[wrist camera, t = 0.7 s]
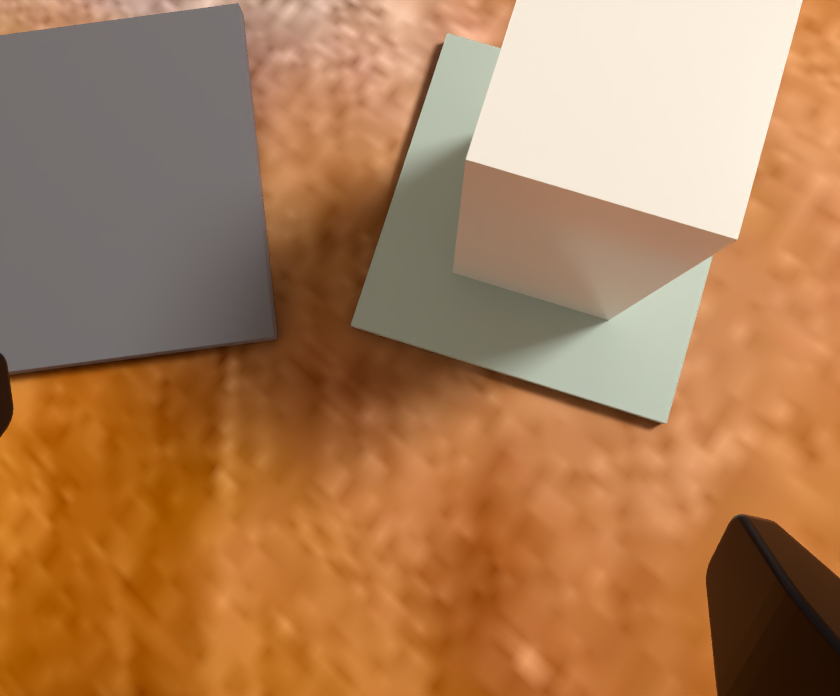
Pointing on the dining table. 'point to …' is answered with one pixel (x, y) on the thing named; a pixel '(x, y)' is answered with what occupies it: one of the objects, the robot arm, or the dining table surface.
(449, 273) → the coaster
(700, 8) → the block
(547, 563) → the dining table surface
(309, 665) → the dining table surface
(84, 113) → the mat
